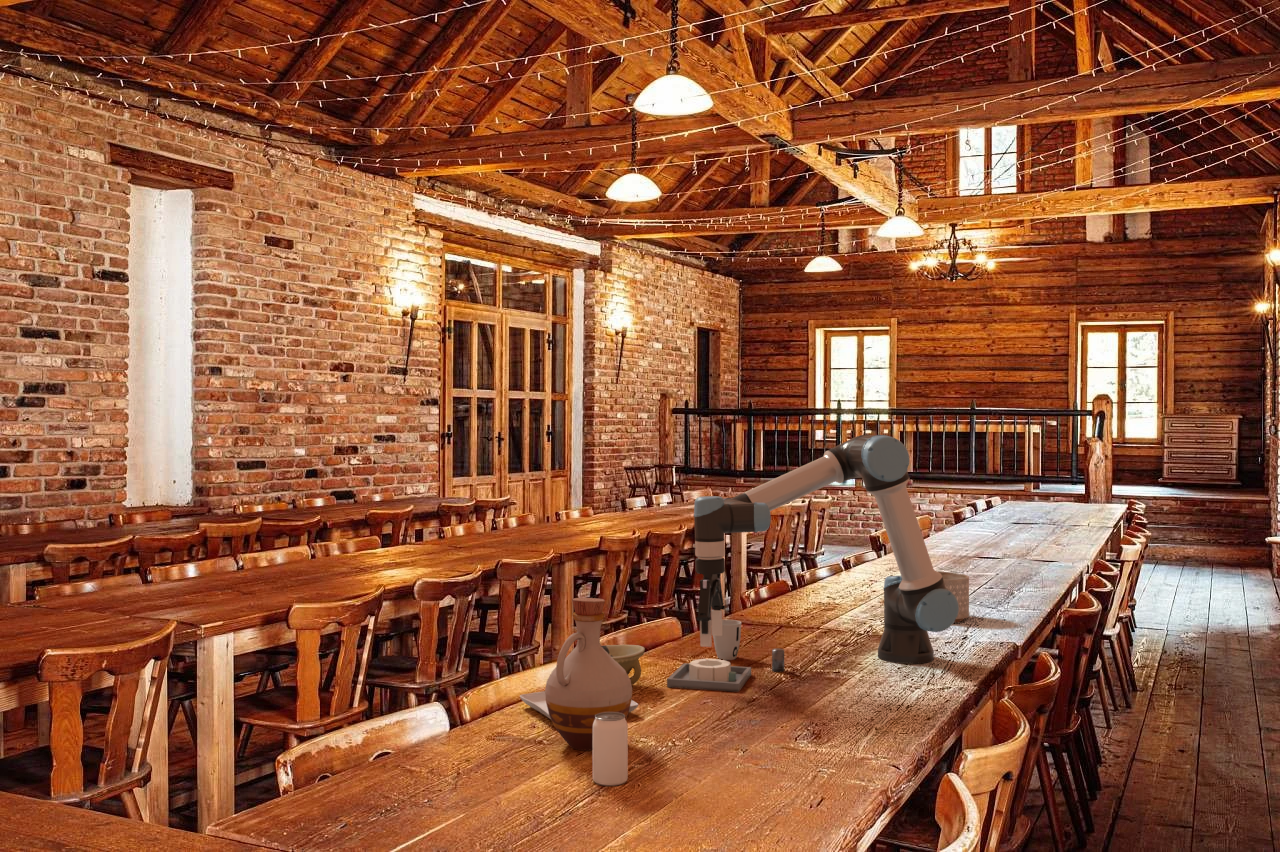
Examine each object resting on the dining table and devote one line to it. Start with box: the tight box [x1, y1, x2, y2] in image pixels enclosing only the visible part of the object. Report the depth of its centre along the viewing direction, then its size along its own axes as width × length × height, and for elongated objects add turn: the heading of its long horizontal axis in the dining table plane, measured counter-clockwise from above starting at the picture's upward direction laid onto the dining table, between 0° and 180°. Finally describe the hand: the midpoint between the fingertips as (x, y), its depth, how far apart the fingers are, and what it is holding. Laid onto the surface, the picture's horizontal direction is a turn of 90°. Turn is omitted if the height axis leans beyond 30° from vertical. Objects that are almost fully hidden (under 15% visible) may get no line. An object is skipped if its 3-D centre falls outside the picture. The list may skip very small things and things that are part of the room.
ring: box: [689, 658, 736, 682], centre depth 274 cm, size 10×12×4 cm
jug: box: [544, 597, 633, 751], centre depth 219 cm, size 20×18×30 cm
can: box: [592, 712, 629, 787], centre depth 198 cm, size 6×6×12 cm
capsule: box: [771, 648, 785, 673], centre depth 285 cm, size 3×3×6 cm
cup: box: [712, 619, 742, 661], centre depth 300 cm, size 8×8×10 cm
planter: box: [938, 571, 970, 623], centre depth 359 cm, size 19×19×14 cm
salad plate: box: [519, 690, 639, 720], centre depth 245 cm, size 21×21×3 cm
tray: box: [666, 662, 752, 693], centre depth 274 cm, size 18×18×2 cm
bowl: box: [601, 644, 646, 686], centre depth 268 cm, size 18×18×10 cm
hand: (711, 640), depth 274 cm, fingers open, 13 cm apart
